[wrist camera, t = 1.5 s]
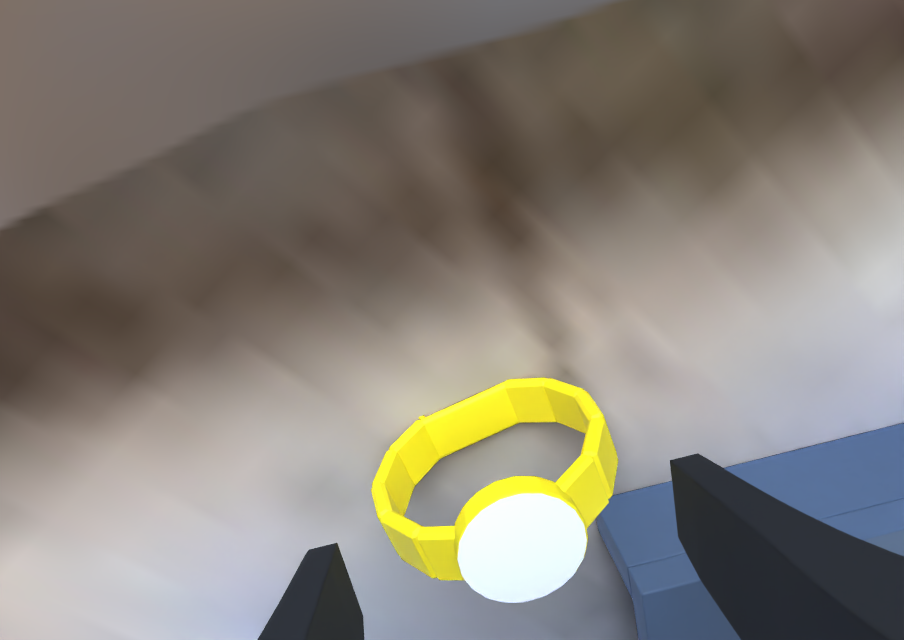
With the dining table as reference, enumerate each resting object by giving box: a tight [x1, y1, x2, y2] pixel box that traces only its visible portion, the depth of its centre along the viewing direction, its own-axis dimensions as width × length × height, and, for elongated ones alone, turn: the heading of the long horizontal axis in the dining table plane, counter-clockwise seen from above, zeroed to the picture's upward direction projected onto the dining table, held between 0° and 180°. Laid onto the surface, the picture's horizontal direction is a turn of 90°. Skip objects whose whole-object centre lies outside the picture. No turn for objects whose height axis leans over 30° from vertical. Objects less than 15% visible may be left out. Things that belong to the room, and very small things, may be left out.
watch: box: [371, 378, 618, 603], centre depth 16 cm, size 6×3×6 cm, turn 111°
